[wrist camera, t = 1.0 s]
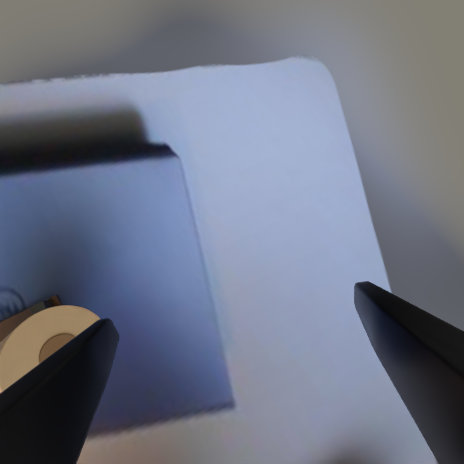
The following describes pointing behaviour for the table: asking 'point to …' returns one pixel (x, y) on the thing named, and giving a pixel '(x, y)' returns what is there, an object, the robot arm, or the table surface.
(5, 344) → the paper towel roll
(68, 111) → the table surface
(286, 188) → the table surface
